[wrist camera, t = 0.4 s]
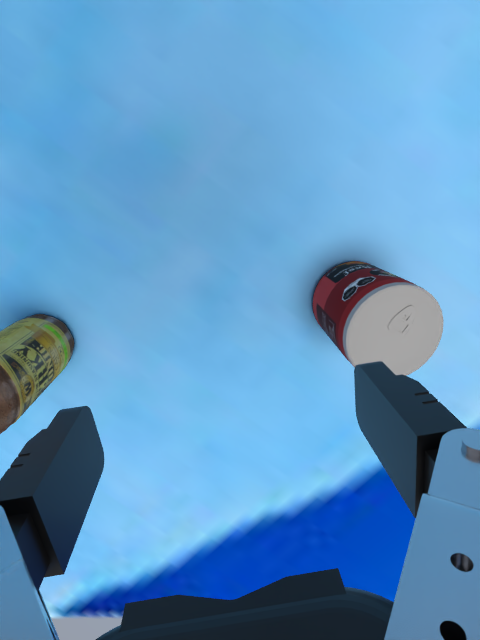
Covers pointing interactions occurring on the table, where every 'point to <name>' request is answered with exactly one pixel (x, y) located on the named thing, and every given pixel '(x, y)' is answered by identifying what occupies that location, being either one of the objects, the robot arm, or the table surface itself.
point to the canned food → (378, 317)
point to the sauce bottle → (30, 362)
